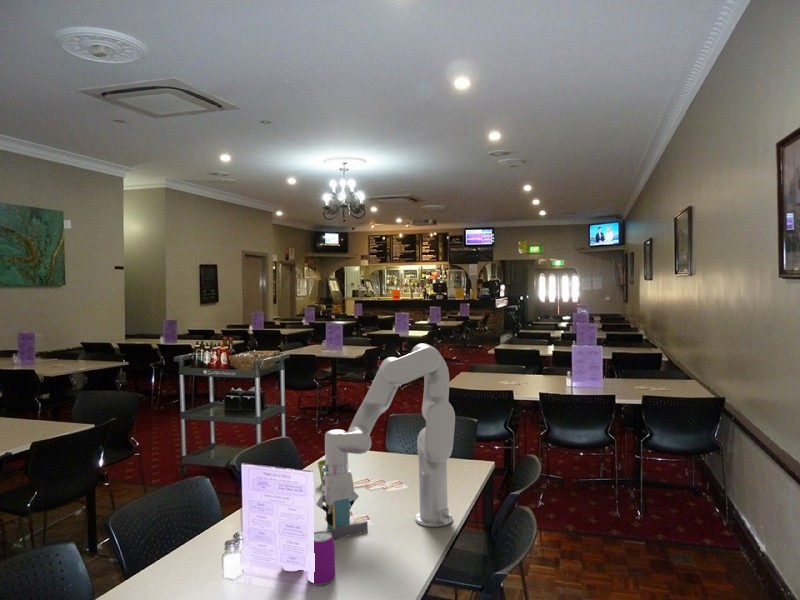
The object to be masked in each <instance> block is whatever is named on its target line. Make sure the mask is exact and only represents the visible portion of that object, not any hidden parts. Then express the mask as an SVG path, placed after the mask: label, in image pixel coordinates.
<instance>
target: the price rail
mask: <svg viewBox="0 0 800 600" xmlns="http://www.w3.org/2000/svg"><path fill="white" fill-rule="evenodd" d="M368 526H369V525H368V521H367V520H363V521H359V522H355V523H351V524H350V525H346V526H342V527H338V528H334V529H330V528H329V529H326V530H325V531H327V532H330V533H331V535H332V537H333V540H334V541H335V540H338V539H342V538H346V537H349V536H348V535H350V536H353V535H352V534H354V535H357V534H356V533H358V534H361V533H360V532H362V533H365V532H364V531H366V532H368V529H369V528H368ZM345 536H346V537H345ZM341 537H342V538H341ZM337 538H338V539H337Z"/></svg>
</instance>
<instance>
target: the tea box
mask: <svg viewBox="0 0 800 600" xmlns="http://www.w3.org/2000/svg"><path fill="white" fill-rule="evenodd" d="M331 513H332V514H333V526H330V525H329V524H328V523H327V522H326V523H327V524H326V525H327V527H328V528H329V530H330V529H334V528H338V527H342V526H346V525H350V523H351V519H350V518H351V509H350V510H349V499H346V500H341V501H337V502H334V506H332V511H331Z"/></svg>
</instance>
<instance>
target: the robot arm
mask: <svg viewBox="0 0 800 600" xmlns="http://www.w3.org/2000/svg"><path fill="white" fill-rule="evenodd" d="M421 377H423V378H424V381H423V382H424V384H423V385H424V386H423V398H422V406H421V414H422V417H423V418H424V420H425V427H423V428H422V429H421V430H420V431H419V433H418V436H417V437H416V439H417V440H416V447H417V449H416V450H417V456H418V457H417V458H418V459H417V460H418V484H419V485H418V489H419V491H418V492H419V493H418V495H419V512H417V513H416V514H415V522H416V523H418V524H419V525H421V526H424V527H430V528H440V527H444V526H447V525H449V524H451V523H452V521H453V520H454V519H453V515H452V513H450V512H449V511H450V510H449V507H448V503H449V502H448V500H449V499H448V465H447V460H448V459H449V458H450V457H451V455H452V453H453V447H454V440H455V439H454V438H455V427H456V426H455V425H456V414H455V410H454V407H453V406H452V404H451V403H450V402H449V396H450V373H449V367H448V364H447V363H446V361H445V359H444V357H443V356H442V355H441V353H440V352H439V350H438V349H437V348H436V347H434V346H432V345H431V344H427V343H423V342H422V343H418V344H416V345H415V346H414V347H413V348H412V349H411V353H408V354H406V355H403V356H401V357H396V356H390V357H389V356H388V357H387V358H385V359H383V361H382V362H381V364H380V366H379V367H378V370H377V372H376V375H375V376H374V379H373V381H372V383H371V385H370V387H369V389H368V390H367V393H366V395H365V397H364V399H363V401H362V403H361V405H360V406H359V408H358V410H357V411H356V413H355V415H354V417H353V419H352V422H351V423H350V426H349V428H348V431H346V430H344V429H340V428H339V429H338V428H337V429H336V428H335V429H331V430H328V431H326V432H325V434H324V456H325V457H324V460H325V466H324V467H322V471H325V473H324V476H323V482H322V483H321V484H322V485H321V495H320V497H319V499H318V500H317V501H316V504H315V505H316V506H317V507H319V508H320V510H323V512H325V519H326V520H325V521H326V523H328V524H329V525H330V526H333V514H332V513H331V511H332V506H334V502H337V501H341V500H346V499H349V510H350V511H351V509H352V506H353V505H354V503H355V502H357V500H358V498H359V494H357V493H356V492H355V488H354V480H353V474H352V471H351V470H350V469H349V454H354V455H362V454H365V453H367V452H369V450H370V449H371V447H372V438H371V436H370V435H371V433H372V430H373V428H374V426H375V424H376V422H377V420H378V419H379V417H380V416H381V415H382V414H383V413H384V412H385V411H387V410H388V409H389V407H390V406H391V404H392V402H393V399H394V397H395V395H396V393H397V391H398V388H399V386H401V385H404V384H408V383H410V382H412V381H416V380H417V379H419V378H421ZM323 503H325V505H324V504H323Z"/></svg>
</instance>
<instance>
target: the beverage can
mask: <svg viewBox="0 0 800 600" xmlns="http://www.w3.org/2000/svg"><path fill="white" fill-rule="evenodd" d="M313 533H314V553H315V572H314V584H316V585H315V586H324V585H323V584H325V585H328V584H330V583H331V582H333V580H335V577H336V547H335V546H336V544H335V543H336V542H335V539H334V540H333V537H332V535H331V533H330V532H327V531H326V530H320V531H314V532H313ZM329 582H330V583H329ZM327 583H328V584H327ZM314 584H313V585H314Z"/></svg>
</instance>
